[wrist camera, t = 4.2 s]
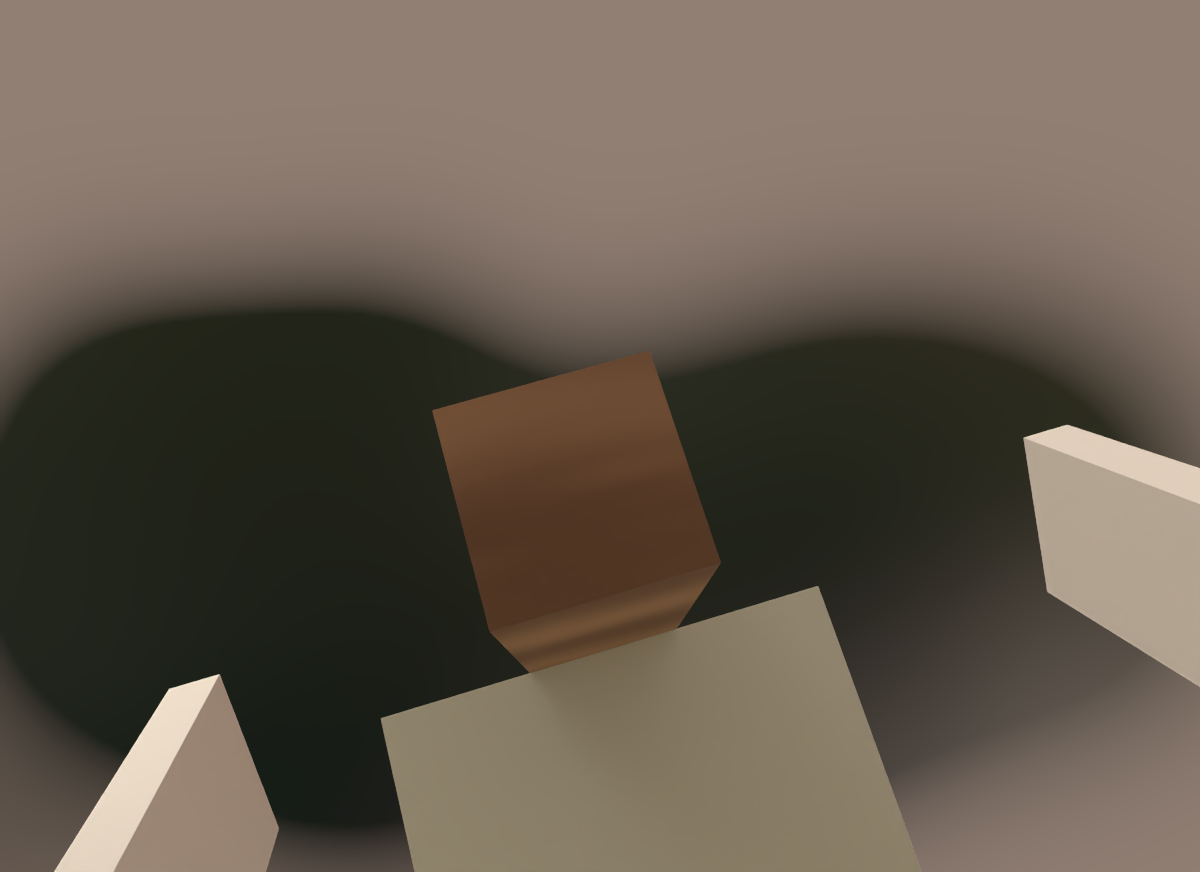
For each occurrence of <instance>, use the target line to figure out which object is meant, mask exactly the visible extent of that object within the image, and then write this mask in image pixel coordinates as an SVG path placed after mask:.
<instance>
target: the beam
mask: <svg viewBox="0 0 1200 872" xmlns="http://www.w3.org/2000/svg"><path fill="white" fill-rule="evenodd" d="M433 414H434V418H435V422H436V426H437V430H438V434H439V438H440V442H441V445H442V449H443V453H444V457H445V460H446V465H447V469H448V472H449V476H450V480H451V484H452V488H453V491H454V496H455V499H456V503H457V507H458V511H459V515H460V519H461V522H462V526H463V530H464V534H465V538H466V542H467V546H468V549H469V553H470V557H471V560H472V565H473V569H474V572H475V576H476V580H477V584H478V588H479V592H480V595H481V599H482V603H483V607H484V611H485V615H486V619H487V622H488V626H489V630H490V632H491V633H492V634H493V635H494V636H495V637H496V638H497V639H498V640H499V641H500V642H501V644H502V645H503V646H504V647H505V648H506V649H507V650H508V651H509V652H510V653H511V654H512V655H513V656H514V657H515V658H516V659H517V660H518V661H519V662H520V663H521V664H522V665H523V666H524V667H525V668H526V669H527V670H528V671H529V672H530V673H533V672H536V671H539V670H543V669H546V668H549V667H552V666H556V665H559V664H562V663H566V662H569V661H572V660H576V659H579V658H582V657H586V656H589V655H592V654H595V653H599V652H602V651H605V650H609V649H612V648H615V647H619V646H622V645H625V644H628V643H632V642H635V641H638V640H642V639H645V638H648V637H652V636H655V635H658V634H661V633H665V632H668V631H671V630H675V629H677V627H678V626H679V624H680V622H681V621H682V619H683V618H684V617H685V615H686V614H687V612H688V611H689V609H690V608H691V606H692V605H693V603H694V602H695V600H696V599H697V597H698V596H699V594H700V593H701V591H702V590H703V588H704V587H705V585H706V584H707V582H708V581H709V579H710V578H711V577H712V575H713V574H714V572H715V571H716V569H717V568H718V566H719V565H720V563H721V562H720V559H719V556H718V553H717V550H716V548H715V544H714V541H713V538H712V535H711V532H710V529H709V526H708V523H707V520H706V517H705V514H704V512H703V508H702V505H701V502H700V500H699V496H698V493H697V491H696V488H695V485H694V482H693V479H692V476H691V473H690V470H689V467H688V464H687V461H686V458H685V455H684V452H683V449H682V446H681V443H680V440H679V437H678V434H677V431H676V428H675V425H674V422H673V419H672V416H671V413H670V410H669V407H668V404H667V402H666V398H665V395H664V392H663V390H662V386H661V384H660V381H659V378H658V374H657V372H656V369H655V366H654V363H653V360H652V357H651V354H650V351H646V352H642V353H639V354H635V355H631V356H628V357H624V358H621V359H617V360H613V361H610V362H607V363H602V364H599V365H595V366H592V367H588V368H584V369H581V370H578V371H574V372H570V373H566V374H563V375H559V376H555V377H552V378H548V379H545V380H541V381H538V382H534V383H530V384H527V385H523V386H519V387H516V388H513V389H509V390H505V391H502V392H498V393H494V394H491V395H487V396H483V397H480V398H476V399H472V400H469V401H465V402H461V403H458V404H454V405H451V406H447V407H444V408H440V409H436V410H433Z"/></svg>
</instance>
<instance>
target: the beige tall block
mask: <svg viewBox="0 0 1200 872" xmlns="http://www.w3.org/2000/svg"><path fill="white" fill-rule="evenodd" d="M381 722H382V726H383V731H384V735H385V740H386V744H387V749H388V753H389V758H390V762H391V766H392V771H393V776H394V780H395V785H396V790H397V794H398V798H399V803H400V807H401V812H402V817H403V821H404V825H405V830H406V835H407V839H408V844H409V848H410V852H411V857H412V862H413V866H414V871H415V872H922V871H921V868H920V866H919V863H918V860H917V857H916V854H915V852H914V849H913V846H912V843H911V841H910V838H909V835H908V832H907V830H906V827H905V824H904V821H903V819H902V816H901V813H900V810H899V808H898V805H897V802H896V800H895V797H894V794H893V791H892V788H891V786H890V783H889V780H888V777H887V775H886V772H885V769H884V766H883V763H882V761H881V758H880V755H879V753H878V750H877V747H876V744H875V742H874V739H873V736H872V733H871V731H870V728H869V725H868V722H867V720H866V717H865V714H864V711H863V708H862V706H861V703H860V700H859V698H858V695H857V692H856V689H855V687H854V684H853V681H852V678H851V675H850V673H849V670H848V668H847V665H846V662H845V659H844V656H843V654H842V651H841V648H840V645H839V643H838V640H837V637H836V634H835V631H834V629H833V626H832V623H831V620H830V618H829V615H828V612H827V610H826V607H825V604H824V601H823V599H822V596H821V593H820V590H819V587H818V586H817V587H813V588H810V589H807V590H803V591H800V592H797V593H794V594H790V595H787V596H784V597H780V598H777V599H774V600H771V601H767V602H764V603H760V604H757V605H754V606H751V607H748V608H744V609H741V610H737V611H734V612H731V613H727V614H724V615H721V616H718V617H714V618H711V619H708V620H704V621H701V622H698V623H695V624H691V625H688V626H685V627H681V628H678V629H675V630H671V631H668V632H665V633H661V634H658V635H655V636H652V637H648V638H645V639H642V640H638V641H635V642H632V643H628V644H625V645H622V646H619V647H615V648H612V649H609V650H605V651H602V652H599V653H595V654H592V655H589V656H586V657H582V658H579V659H576V660H572V661H569V662H566V663H562V664H559V665H556V666H552V667H549V668H546V669H543V670H539V671H536V672H533V673H529V674H526V675H523V676H519V677H516V678H513V679H510V680H506V681H503V682H500V683H496V684H493V685H490V686H487V687H483V688H480V689H477V690H473V691H470V692H467V693H463V694H460V695H457V696H453V697H450V698H447V699H444V700H440V701H437V702H434V703H430V704H427V705H424V706H421V707H417V708H414V709H410V710H407V711H404V712H401V713H397V714H394V715H391V716H387V717H384V718H381Z"/></svg>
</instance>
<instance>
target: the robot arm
mask: <svg viewBox="0 0 1200 872" xmlns="http://www.w3.org/2000/svg"><path fill="white" fill-rule="evenodd" d="M1024 443H1025V450H1026V456H1027V462H1028V470H1029V475H1030V483H1031V489H1032V495H1033V502H1034V508H1035V515H1036V521H1037V527H1038V534H1039V540H1040V546H1041V553H1042V559H1043V566H1044V573H1045V579H1046V586H1047V592H1049V593H1050V594H1052V595H1053V596H1055V597H1057V598H1058V599H1060V600H1061V601H1063V602H1065V603H1066V604H1068V605H1069V606H1071V607H1073V608H1074V609H1076V610H1077V611H1079V612H1081V613H1082V614H1084V615H1085V616H1087V617H1089V618H1090V619H1092V620H1094V621H1095V622H1097V623H1098V624H1100V625H1102V626H1103V627H1105V628H1106V629H1108V630H1110V631H1111V632H1113V633H1115V634H1116V635H1118V636H1119V637H1121V638H1122V639H1124V640H1126V641H1127V642H1129V643H1130V644H1132V645H1134V646H1135V647H1137V648H1139V649H1140V650H1142V651H1144V652H1145V653H1146V654H1148V655H1150V656H1151V657H1153V658H1155V659H1156V660H1158V661H1159V662H1161V663H1162V664H1164V665H1166V666H1167V667H1169V668H1171V669H1172V670H1174V671H1175V672H1177V673H1178V674H1180V675H1182V676H1183V677H1185V678H1187V679H1188V680H1190V681H1191V682H1193V683H1195V684H1196V685H1198V686H1199V687H1200V468H1197V467H1194V466H1191V465H1188V464H1185V463H1182V462H1179V461H1176V460H1173V459H1170V458H1167V457H1163V456H1161V455H1157V454H1154V453H1151V452H1148V451H1145V450H1142V449H1139V448H1136V447H1133V446H1130V445H1127V444H1124V443H1121V442H1118V441H1115V440H1112V439H1109V438H1106V437H1103V436H1099V435H1097V434H1094V433H1090V432H1087V431H1084V430H1081V429H1078V428H1075V427H1072V426H1069V425H1065V426H1062V427H1059V428H1055V429H1052V430H1048V431H1045V432H1042V433H1038V434H1035V435H1031V436H1028V437H1025V438H1024ZM278 829H279V828H278V825H277V823H276V820H275V817H274V815H273V812H272V810H271V807H270V804H269V802H268V799H267V797H266V794H265V791H264V789H263V786H262V784H261V781H260V778H259V776H258V773H257V771H256V768H255V765H254V763H253V761H252V758H251V755H250V752H249V750H248V748H247V745H246V742H245V739H244V737H243V734H242V732H241V729H240V726H239V724H238V721H237V719H236V716H235V713H234V711H233V708H232V706H231V703H230V700H229V698H228V695H227V693H226V690H225V687H224V685H223V682H222V679H221V677H220V675H216V676H212V677H209V678H205V679H202V680H199V681H195V682H192V683H188V684H185V685H181V686H178V687H175V688H171V689H169V690H168V692H167V693H166V695H165V697H164V698H163V700H162V701H161V703H160V704H159V706H158V708H157V709H156V711H155V712H154V714H153V716H152V717H151V719H150V721H149V722H148V724H147V725H146V727H145V728H144V730H143V731H142V733H141V735H140V736H139V738H138V739H137V741H136V743H135V744H134V746H133V747H132V749H131V751H130V752H129V754H128V755H127V757H126V759H125V760H124V762H123V763H122V765H121V766H120V768H119V770H118V771H117V773H116V774H115V776H114V778H113V779H112V781H111V782H110V784H109V785H108V787H107V789H106V790H105V792H104V794H103V795H102V797H101V798H100V800H99V801H98V803H97V805H96V806H95V808H94V809H93V811H92V812H91V814H90V816H89V817H88V819H87V820H86V822H85V824H84V825H83V827H82V829H81V830H80V832H79V833H78V835H77V836H76V838H75V840H74V841H73V843H72V844H71V846H70V848H69V849H68V851H67V852H66V854H65V855H64V857H63V859H62V860H61V862H60V863H59V865H58V867H57V868H56V870H55V871H54V872H266V869H267V866H268V863H269V859H270V856H271V853H272V849H273V846H274V842H275V839H276V836H277V833H278Z"/></svg>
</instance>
